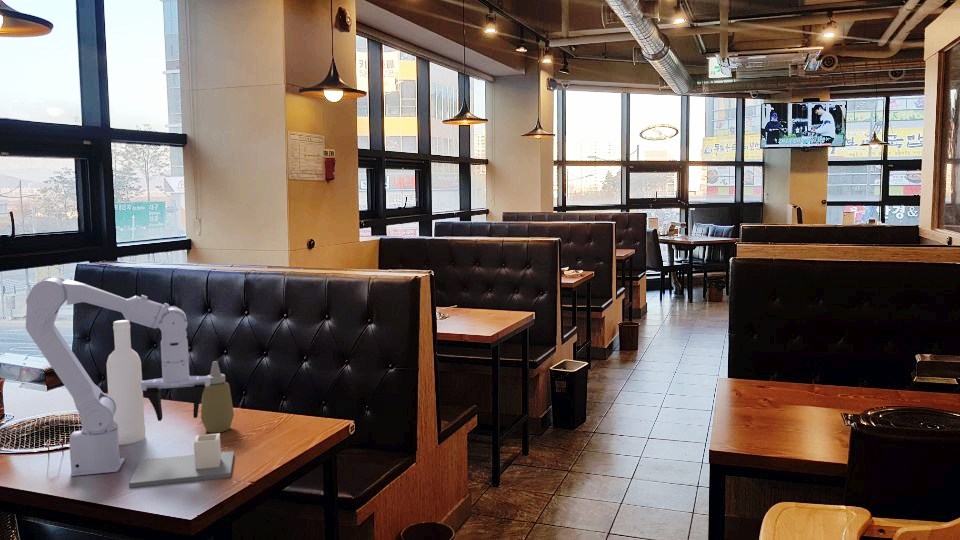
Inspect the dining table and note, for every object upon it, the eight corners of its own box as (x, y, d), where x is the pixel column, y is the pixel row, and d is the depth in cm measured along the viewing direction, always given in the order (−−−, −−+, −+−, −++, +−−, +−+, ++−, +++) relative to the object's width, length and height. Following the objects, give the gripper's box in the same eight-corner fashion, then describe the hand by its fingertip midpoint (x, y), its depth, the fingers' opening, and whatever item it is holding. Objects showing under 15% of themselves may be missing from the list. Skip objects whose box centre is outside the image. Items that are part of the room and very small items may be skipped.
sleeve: (195, 469, 160) (193, 442, 159) (197, 461, 165) (196, 435, 164) (219, 466, 161) (218, 440, 161) (221, 458, 166) (219, 433, 166)
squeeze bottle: (239, 425, 194) (236, 358, 192) (226, 435, 186) (223, 365, 184) (210, 424, 195) (207, 358, 193) (195, 434, 187) (192, 365, 185)
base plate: (129, 487, 153) (128, 466, 152) (141, 464, 166) (139, 444, 166) (230, 477, 158) (229, 457, 157) (233, 455, 171) (233, 436, 171)
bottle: (110, 437, 184) (103, 320, 181) (144, 432, 188) (138, 317, 185) (110, 447, 177) (103, 325, 174) (146, 442, 181) (139, 322, 178)
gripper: (137, 366, 162) (140, 426, 163) (207, 361, 166) (209, 420, 167) (143, 359, 169) (146, 416, 170) (209, 355, 173) (212, 411, 174)
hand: (178, 418), depth 169 cm, fingers open, 7 cm apart
